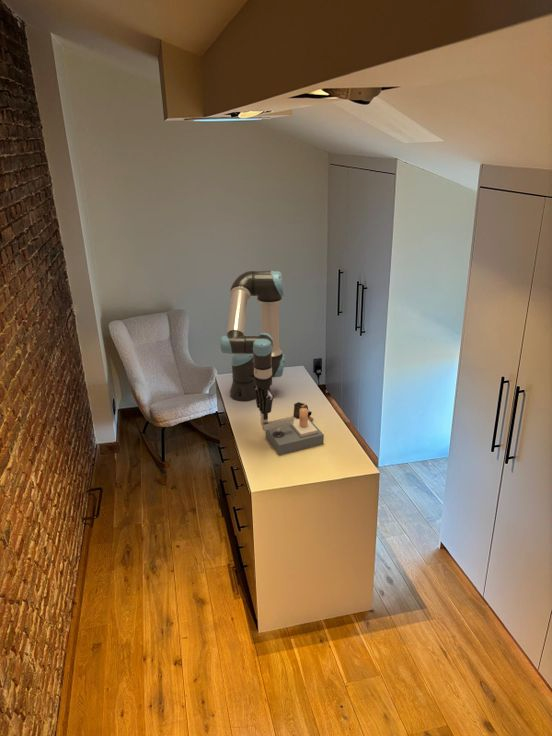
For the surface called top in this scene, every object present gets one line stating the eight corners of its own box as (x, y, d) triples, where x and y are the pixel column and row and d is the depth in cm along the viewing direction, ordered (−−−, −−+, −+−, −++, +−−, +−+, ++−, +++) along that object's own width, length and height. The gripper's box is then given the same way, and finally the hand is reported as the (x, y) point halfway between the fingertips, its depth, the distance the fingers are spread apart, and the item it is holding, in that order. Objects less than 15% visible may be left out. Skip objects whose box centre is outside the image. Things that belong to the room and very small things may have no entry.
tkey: (262, 436, 235) (262, 423, 232) (292, 429, 240) (292, 416, 237) (264, 438, 234) (263, 425, 231) (294, 431, 238) (294, 418, 236)
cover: (289, 423, 245) (289, 405, 241) (305, 420, 247) (306, 401, 243) (300, 437, 235) (301, 418, 231) (317, 433, 237) (318, 414, 233)
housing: (265, 436, 245) (265, 426, 243) (307, 426, 252) (307, 417, 250) (279, 455, 231) (279, 445, 229) (323, 444, 239) (323, 434, 236)
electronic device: (307, 424, 254) (307, 410, 251) (292, 417, 260) (292, 403, 257) (313, 420, 257) (314, 406, 254) (299, 413, 263) (299, 400, 260)
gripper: (247, 372, 229) (249, 420, 239) (263, 383, 219) (265, 433, 230) (262, 368, 233) (263, 415, 243) (279, 379, 223) (279, 428, 233)
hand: (264, 424), depth 236 cm, fingers closed
